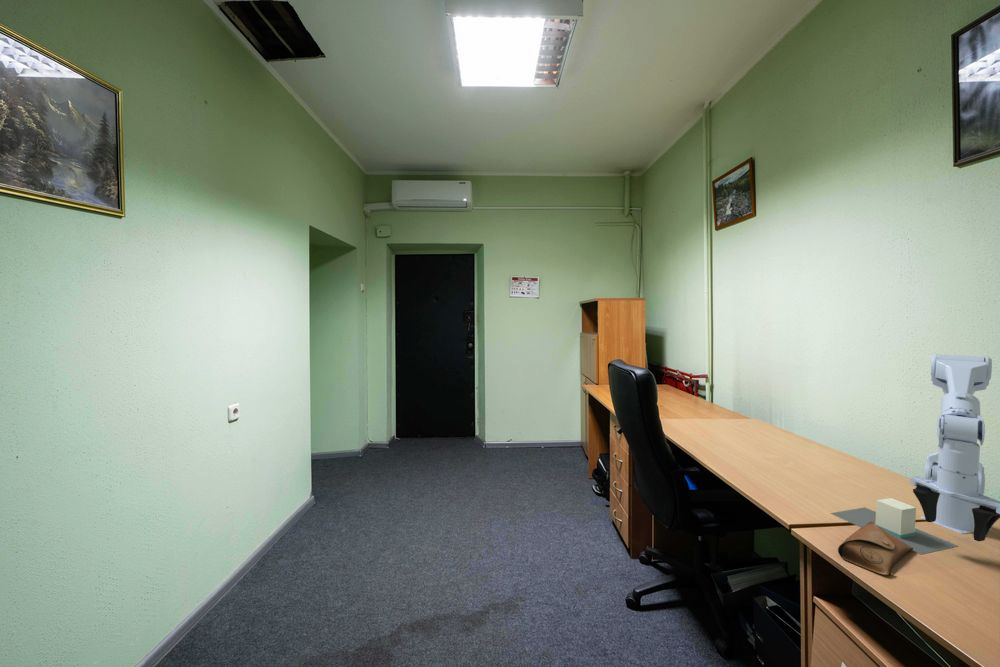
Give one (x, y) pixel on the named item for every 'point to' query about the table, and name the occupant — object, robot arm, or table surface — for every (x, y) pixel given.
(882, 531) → the sunglasses case
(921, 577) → the table surface
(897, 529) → the cream block
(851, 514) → the rubber mat
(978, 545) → the table surface
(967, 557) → the table surface
